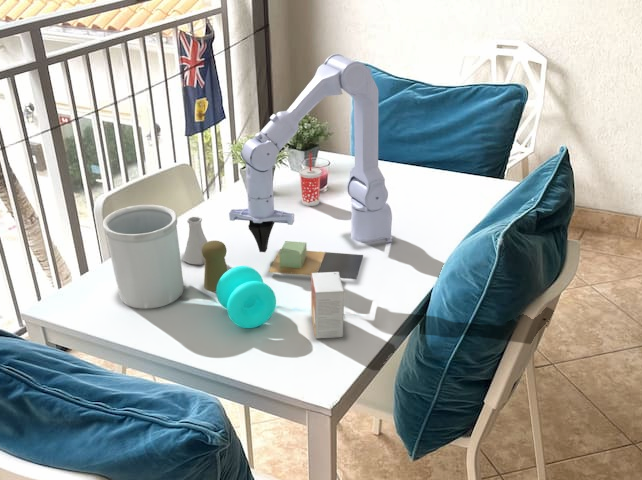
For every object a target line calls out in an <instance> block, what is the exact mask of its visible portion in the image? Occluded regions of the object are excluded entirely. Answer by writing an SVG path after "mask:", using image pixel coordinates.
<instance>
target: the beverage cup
mask: <svg viewBox="0 0 642 480" xmlns="http://www.w3.org/2000/svg"><path fill="white" fill-rule="evenodd" d="M308 155H309V159H308V160H309V162H308V163H309V167H304V168H301V169H300V170H298V173H299V178H300V188H301V201H302V205H304V206H308V207H315V206H317V205H319V204H320V193H321V178H322V177H321V176H322V173H323V171H322V169H320V168H318V167H312V153H311V152H309V154H308Z"/></svg>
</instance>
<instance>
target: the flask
mask: <svg viewBox="0 0 642 480" xmlns="http://www.w3.org/2000/svg"><path fill="white" fill-rule="evenodd" d="M202 221H203V218H202V217H199V216H191V217H189V218H188V219H187V220H186V222H187V224H188V228H189V229H188V238H187V242H186V246H185V250H184V253H183V256H182V262H185V263H187V264H189V265H205V258H204V257H203V255H202V247H203V245H204V244H205V243H207V242H208V240H207V237H206V236H205V234H204V231H203V227H202Z"/></svg>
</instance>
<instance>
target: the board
mask: <svg viewBox="0 0 642 480" xmlns="http://www.w3.org/2000/svg"><path fill="white" fill-rule="evenodd" d="M281 249H282V248H280V249H279V250H278V252H277V254H276V256H275V258H274V260H273V261H272V263H271V266H270V267H269V269H268V273H274V274H275V273H276V274H287V275H300V276H311V273H323V272H339V275H340V279H349V280H357V278H358V275H359V272H360V268H361V265H362V261H363V258H364V254H354V253H341V252H329V251H316V250H315V251H314V250H307V256H306V258H305V261H304V263H303V265H302V268H289V267H280V260H279V253H280V251H281Z"/></svg>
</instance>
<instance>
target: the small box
mask: <svg viewBox="0 0 642 480" xmlns="http://www.w3.org/2000/svg"><path fill="white" fill-rule="evenodd" d="M310 277H311V278H310V285H311V286H310V289H311V290H310V295H311V296H310V297H311V298H310V300H311V301H310V302H311V303H310V304H311V306H310V307H311V309H310V312H311V313H310V314H311V315H310V317H311V321H312V326H313V334H314V338H315V340H319V339H336V338H337V339H338V338H343V337H344V315H345V314H344V311H345V289H344V286H343V283H342V280H341V279H342V278H340V275H339V272H323V273H311V275H310Z"/></svg>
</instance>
